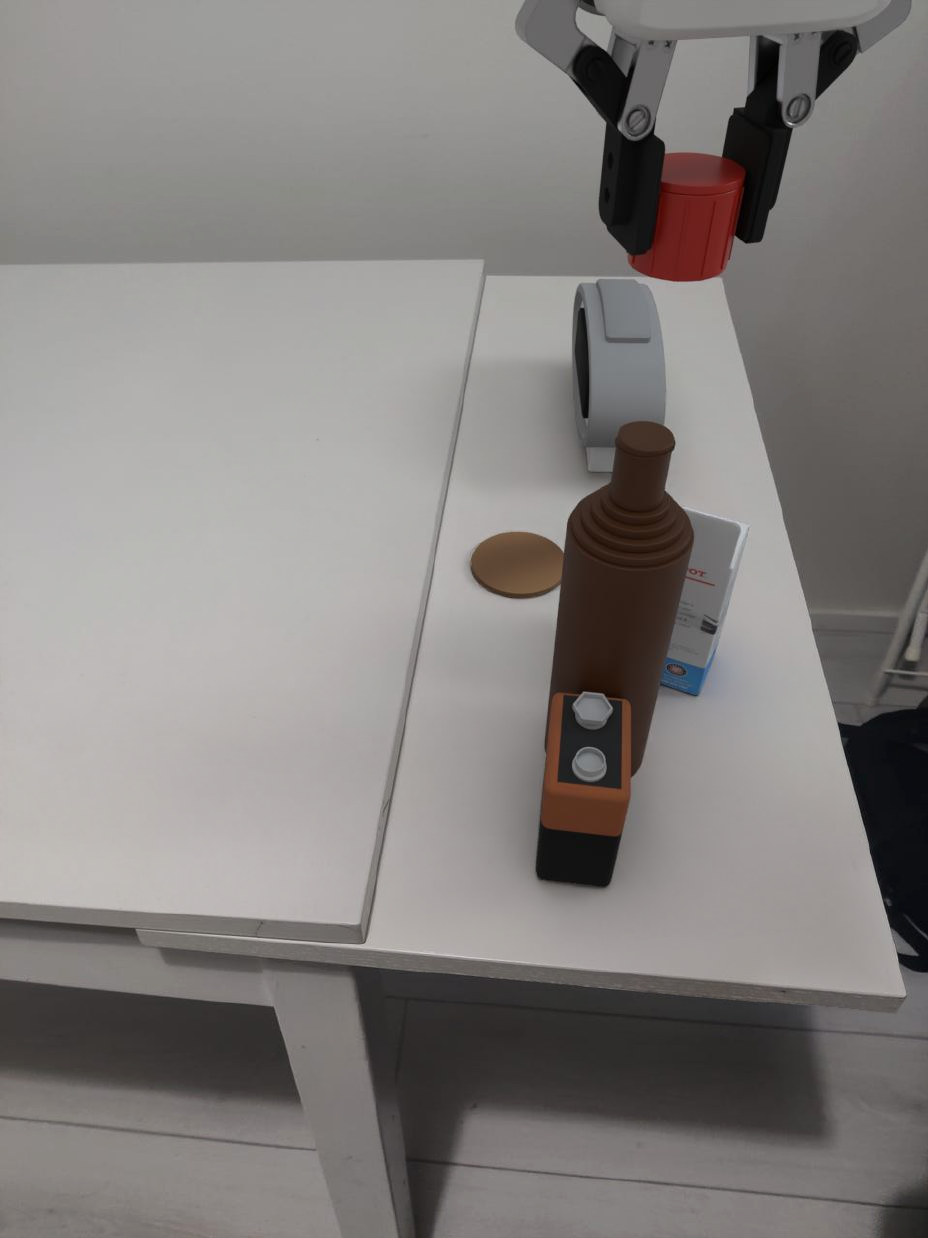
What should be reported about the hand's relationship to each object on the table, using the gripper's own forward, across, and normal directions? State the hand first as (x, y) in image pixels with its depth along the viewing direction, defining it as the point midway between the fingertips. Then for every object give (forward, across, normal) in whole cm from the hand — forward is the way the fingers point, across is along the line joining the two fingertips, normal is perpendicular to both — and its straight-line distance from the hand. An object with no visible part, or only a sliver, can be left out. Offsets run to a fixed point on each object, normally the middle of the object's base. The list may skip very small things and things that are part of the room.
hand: (682, 231), depth 34 cm
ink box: (+33, +6, +7) cm, 34 cm away
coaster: (+33, 0, +18) cm, 37 cm away
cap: (+1, 0, 0) cm, 1 cm away
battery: (+33, -4, -6) cm, 34 cm away
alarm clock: (+33, +14, +37) cm, 51 cm away
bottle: (+33, 0, 0) cm, 33 cm away
